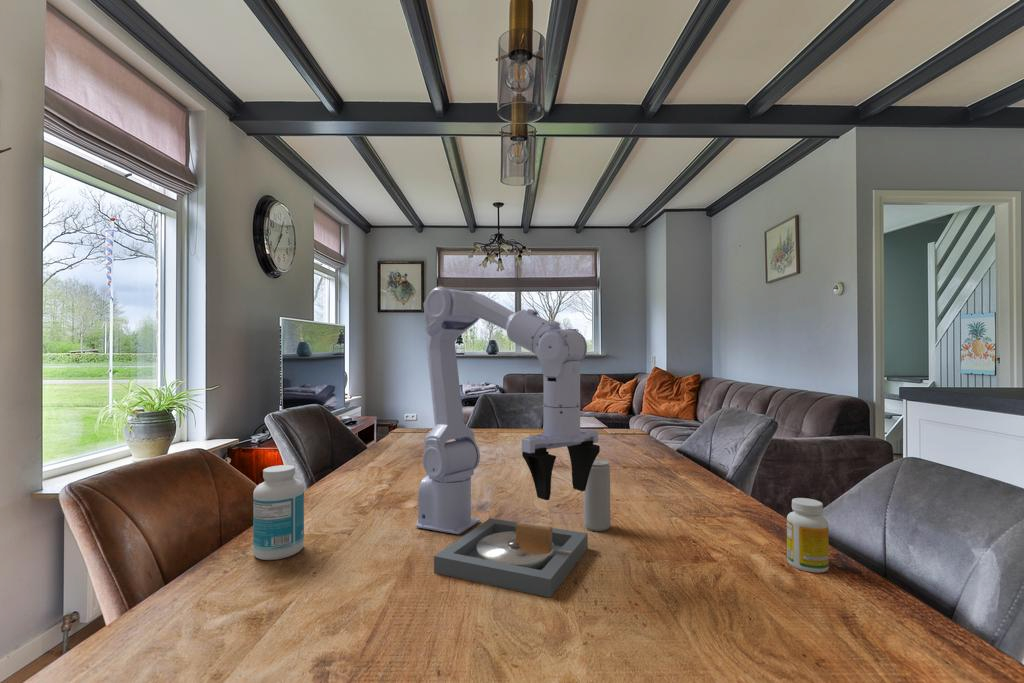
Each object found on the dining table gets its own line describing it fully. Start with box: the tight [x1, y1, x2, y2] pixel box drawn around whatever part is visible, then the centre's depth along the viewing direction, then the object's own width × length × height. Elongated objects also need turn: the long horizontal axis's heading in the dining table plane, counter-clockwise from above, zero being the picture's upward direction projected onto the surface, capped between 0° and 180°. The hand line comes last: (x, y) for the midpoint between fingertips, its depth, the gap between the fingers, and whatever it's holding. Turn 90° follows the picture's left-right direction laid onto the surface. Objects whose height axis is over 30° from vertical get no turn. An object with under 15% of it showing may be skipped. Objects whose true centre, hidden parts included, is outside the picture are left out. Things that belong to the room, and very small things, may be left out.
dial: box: [477, 521, 554, 569], centre depth 75 cm, size 12×12×5 cm
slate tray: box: [433, 517, 589, 599], centre depth 75 cm, size 18×18×3 cm
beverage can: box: [583, 459, 611, 532], centre depth 89 cm, size 5×5×12 cm
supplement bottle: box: [786, 497, 830, 574], centre depth 73 cm, size 5×5×10 cm
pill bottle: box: [252, 464, 305, 561], centre depth 78 cm, size 8×7×14 cm
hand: (561, 494), depth 75 cm, fingers open, 7 cm apart
